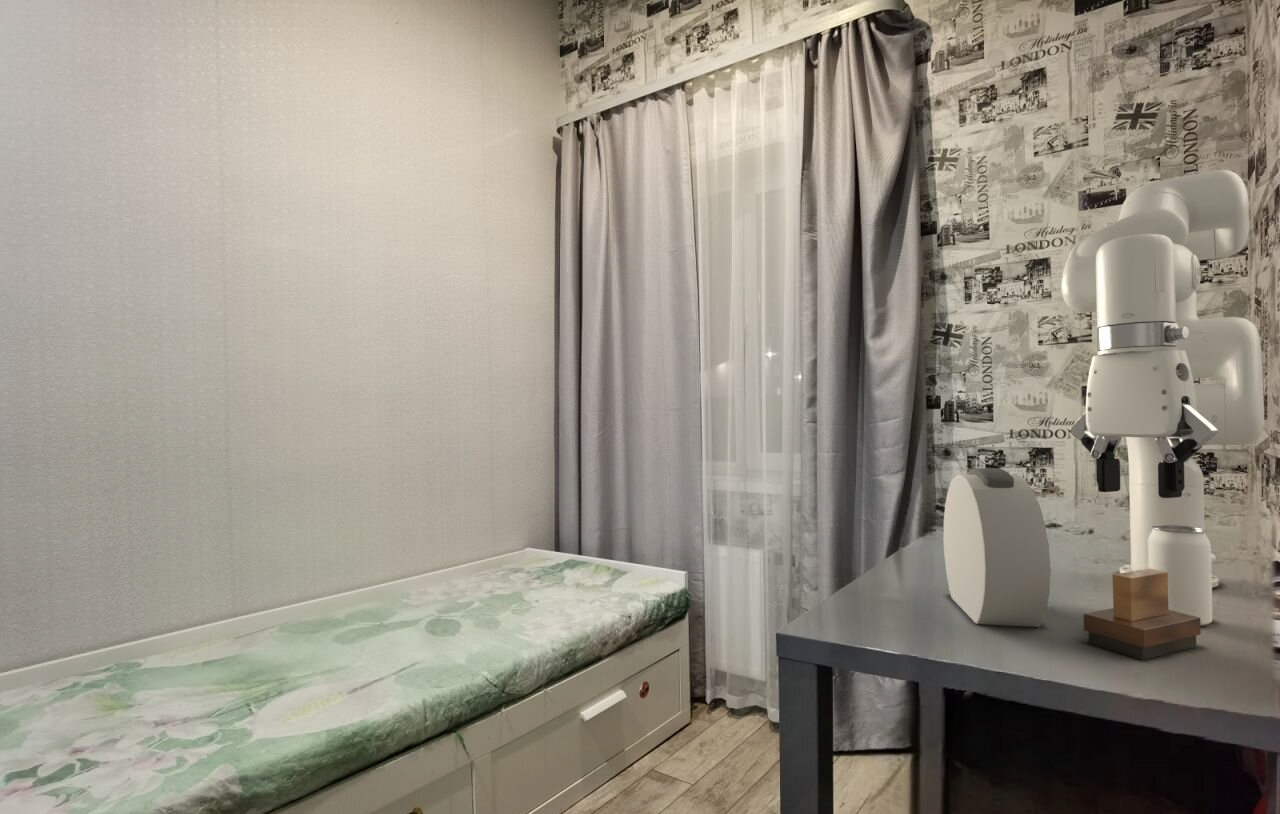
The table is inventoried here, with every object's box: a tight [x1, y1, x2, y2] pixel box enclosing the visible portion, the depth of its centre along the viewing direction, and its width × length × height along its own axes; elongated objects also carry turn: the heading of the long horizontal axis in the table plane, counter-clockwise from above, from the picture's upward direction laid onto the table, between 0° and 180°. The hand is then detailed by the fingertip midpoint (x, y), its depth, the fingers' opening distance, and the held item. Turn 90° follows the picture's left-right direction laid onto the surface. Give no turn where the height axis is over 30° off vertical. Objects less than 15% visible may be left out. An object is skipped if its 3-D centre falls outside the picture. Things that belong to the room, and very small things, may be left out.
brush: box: [1083, 569, 1202, 661], centre depth 78 cm, size 11×7×8 cm, turn 113°
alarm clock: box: [943, 467, 1052, 628], centre depth 92 cm, size 21×8×20 cm, turn 168°
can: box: [1148, 525, 1213, 627], centre depth 88 cm, size 6×6×12 cm
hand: (1138, 492), depth 78 cm, fingers open, 6 cm apart
